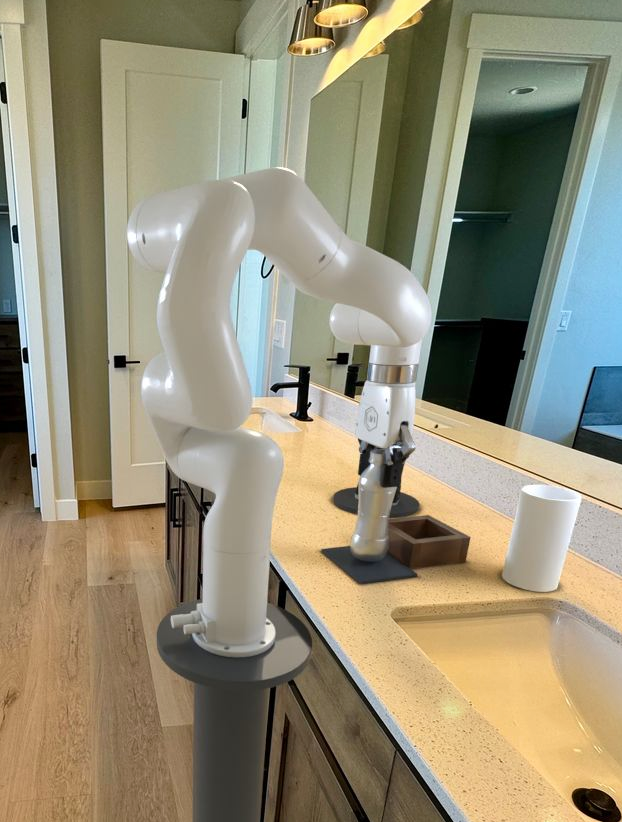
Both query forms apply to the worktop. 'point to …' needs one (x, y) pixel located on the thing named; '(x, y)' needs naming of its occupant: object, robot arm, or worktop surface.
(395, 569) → the mat
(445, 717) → the worktop surface
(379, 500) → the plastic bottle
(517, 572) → the cup
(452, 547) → the brown wooden box
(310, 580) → the worktop surface
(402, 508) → the vape
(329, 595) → the worktop surface
